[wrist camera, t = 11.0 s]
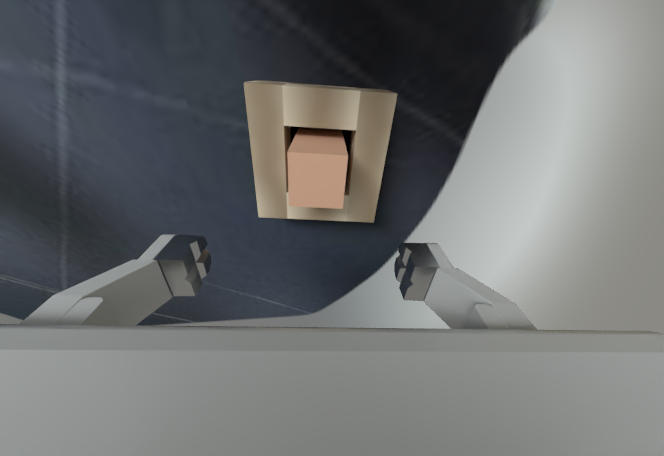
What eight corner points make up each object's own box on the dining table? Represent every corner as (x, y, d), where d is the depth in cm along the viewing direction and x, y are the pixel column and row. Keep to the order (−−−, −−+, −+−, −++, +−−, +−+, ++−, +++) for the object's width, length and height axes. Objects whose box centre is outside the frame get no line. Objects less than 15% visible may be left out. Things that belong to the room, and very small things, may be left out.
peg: (299, 169, 25) (288, 206, 18) (298, 127, 23) (287, 152, 16) (338, 171, 25) (342, 208, 18) (341, 130, 23) (348, 155, 16)
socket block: (267, 198, 27) (258, 217, 23) (257, 80, 21) (243, 82, 17) (367, 203, 27) (373, 222, 24) (386, 89, 21) (397, 93, 18)
